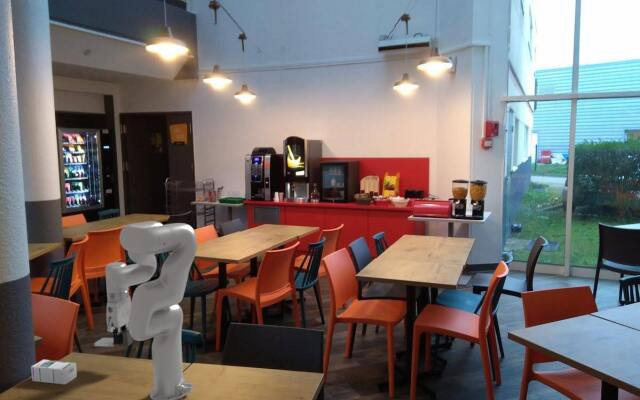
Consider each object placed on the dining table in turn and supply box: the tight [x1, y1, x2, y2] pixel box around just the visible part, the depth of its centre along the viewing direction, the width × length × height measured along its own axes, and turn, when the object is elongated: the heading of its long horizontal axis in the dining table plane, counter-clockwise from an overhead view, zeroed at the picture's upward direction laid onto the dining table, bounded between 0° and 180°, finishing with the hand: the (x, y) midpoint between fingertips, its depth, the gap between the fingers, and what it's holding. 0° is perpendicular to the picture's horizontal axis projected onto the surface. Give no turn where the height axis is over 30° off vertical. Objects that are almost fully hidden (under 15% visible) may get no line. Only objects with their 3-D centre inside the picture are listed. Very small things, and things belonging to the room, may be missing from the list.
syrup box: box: [30, 359, 78, 385], centre depth 169 cm, size 6×6×14 cm
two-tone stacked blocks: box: [94, 329, 134, 347], centre depth 178 cm, size 14×5×5 cm, turn 77°
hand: (121, 341), depth 177 cm, fingers closed on two-tone stacked blocks, 3 cm apart
